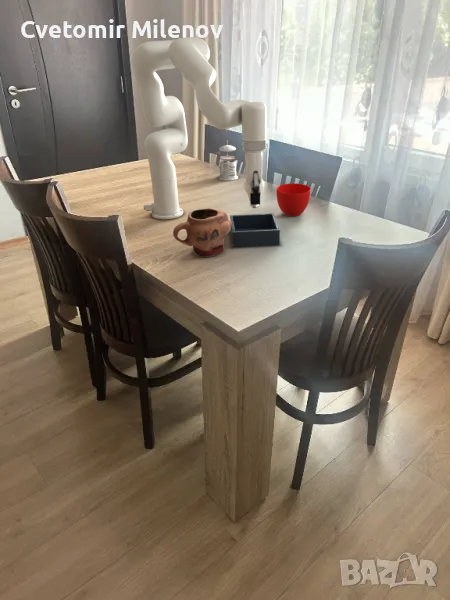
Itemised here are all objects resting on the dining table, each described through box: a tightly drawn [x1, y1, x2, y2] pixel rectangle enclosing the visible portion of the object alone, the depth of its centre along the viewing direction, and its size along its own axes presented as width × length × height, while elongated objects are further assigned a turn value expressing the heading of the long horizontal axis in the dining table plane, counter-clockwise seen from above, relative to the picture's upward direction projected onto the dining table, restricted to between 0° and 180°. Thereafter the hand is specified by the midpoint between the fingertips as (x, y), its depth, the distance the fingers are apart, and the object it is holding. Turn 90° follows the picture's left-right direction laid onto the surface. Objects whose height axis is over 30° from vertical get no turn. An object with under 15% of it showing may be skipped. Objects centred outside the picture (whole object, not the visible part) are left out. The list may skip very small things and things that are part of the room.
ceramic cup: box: [276, 182, 312, 217], centre depth 173 cm, size 13×17×10 cm
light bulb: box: [243, 175, 265, 209], centre depth 147 cm, size 7×7×11 cm
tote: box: [229, 212, 281, 249], centre depth 154 cm, size 16×16×6 cm
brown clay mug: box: [172, 207, 232, 258], centre depth 142 cm, size 20×12×14 cm, turn 122°
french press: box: [213, 141, 239, 181], centre depth 212 cm, size 10×12×25 cm
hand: (254, 200), depth 148 cm, fingers closed on light bulb, 6 cm apart
